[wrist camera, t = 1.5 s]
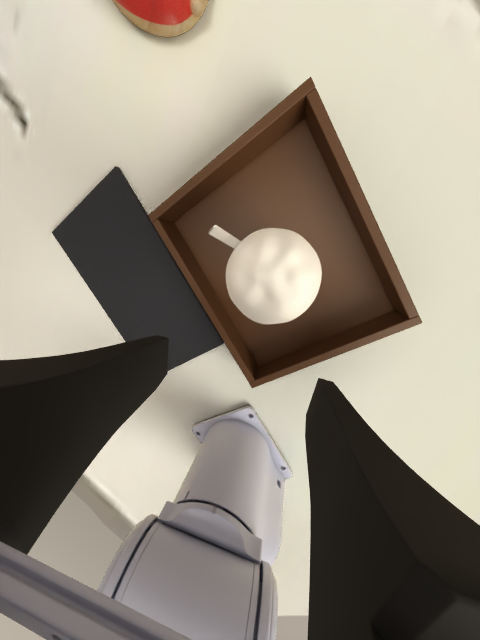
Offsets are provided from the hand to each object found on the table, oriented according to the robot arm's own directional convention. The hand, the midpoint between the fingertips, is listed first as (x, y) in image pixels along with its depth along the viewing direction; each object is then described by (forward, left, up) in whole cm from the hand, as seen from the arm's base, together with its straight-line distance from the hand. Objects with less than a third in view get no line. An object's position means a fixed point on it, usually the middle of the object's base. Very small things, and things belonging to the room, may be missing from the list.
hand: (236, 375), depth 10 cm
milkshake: (+3, -3, -10) cm, 11 cm away
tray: (+3, -3, -10) cm, 11 cm away
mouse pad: (+8, +10, -10) cm, 17 cm away
